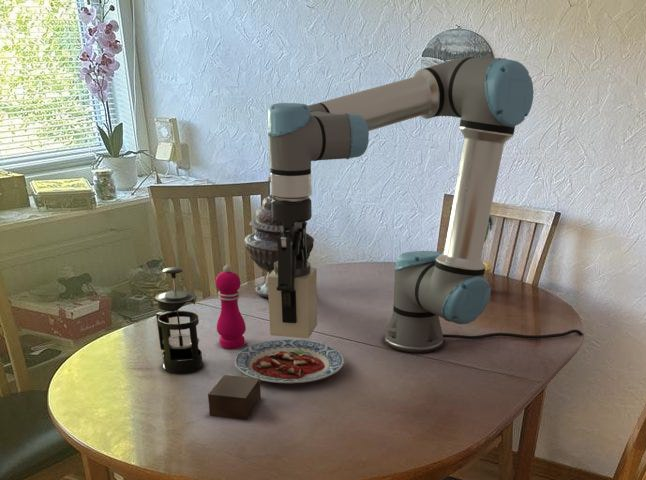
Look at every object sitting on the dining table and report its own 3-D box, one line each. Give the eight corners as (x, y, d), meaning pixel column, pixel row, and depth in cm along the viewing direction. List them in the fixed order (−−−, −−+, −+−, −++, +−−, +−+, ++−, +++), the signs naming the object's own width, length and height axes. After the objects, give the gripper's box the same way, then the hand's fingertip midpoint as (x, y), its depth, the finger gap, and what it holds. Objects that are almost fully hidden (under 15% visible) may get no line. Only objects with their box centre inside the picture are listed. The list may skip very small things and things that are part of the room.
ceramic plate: (301, 401, 152) (301, 388, 151) (212, 372, 164) (211, 360, 162) (364, 363, 171) (364, 351, 170) (279, 340, 182) (279, 329, 181)
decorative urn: (277, 276, 227) (275, 160, 206) (326, 293, 218) (330, 174, 197) (232, 293, 214) (226, 172, 193) (283, 313, 205) (282, 187, 184)
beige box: (299, 341, 151) (348, 296, 144) (290, 355, 144) (341, 309, 137) (248, 289, 146) (296, 240, 139) (236, 301, 140) (286, 250, 133)
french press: (214, 365, 167) (205, 268, 155) (185, 378, 160) (174, 278, 148) (179, 354, 173) (168, 259, 160) (149, 366, 166) (136, 268, 154)
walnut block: (261, 399, 153) (260, 378, 150) (246, 420, 144) (245, 398, 142) (225, 395, 154) (224, 374, 151) (209, 416, 145) (207, 394, 143)
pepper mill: (241, 351, 175) (235, 270, 165) (213, 348, 177) (206, 268, 166) (250, 340, 181) (246, 262, 171) (224, 337, 183) (218, 260, 172)
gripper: (285, 186, 140) (289, 297, 153) (256, 207, 123) (262, 331, 135) (322, 188, 140) (322, 300, 152) (298, 210, 122) (301, 334, 134)
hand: (294, 314), depth 144 cm, fingers closed on beige box, 8 cm apart
